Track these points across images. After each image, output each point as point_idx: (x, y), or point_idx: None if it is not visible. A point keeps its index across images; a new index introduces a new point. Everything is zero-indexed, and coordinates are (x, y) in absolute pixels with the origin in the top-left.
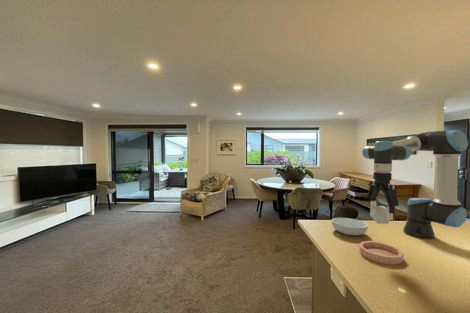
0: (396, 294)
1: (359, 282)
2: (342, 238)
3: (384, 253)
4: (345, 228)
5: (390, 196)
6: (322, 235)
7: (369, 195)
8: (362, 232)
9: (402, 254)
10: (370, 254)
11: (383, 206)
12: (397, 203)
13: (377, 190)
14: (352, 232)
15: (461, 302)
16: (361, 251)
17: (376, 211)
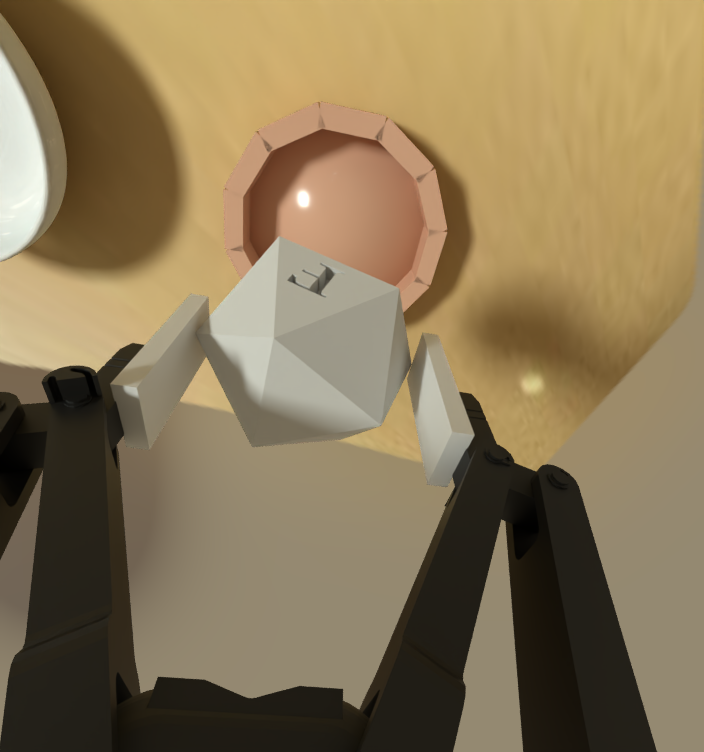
0: (533, 413)
1: None
2: (99, 250)
3: (342, 206)
4: (37, 239)
5: (523, 648)
6: (65, 330)
7: (22, 503)
8: (49, 96)
9: (434, 182)
10: None
11: (288, 364)
12: (575, 511)
13: (128, 667)
14: (64, 191)
15: (684, 277)
16: None
17: (324, 440)
